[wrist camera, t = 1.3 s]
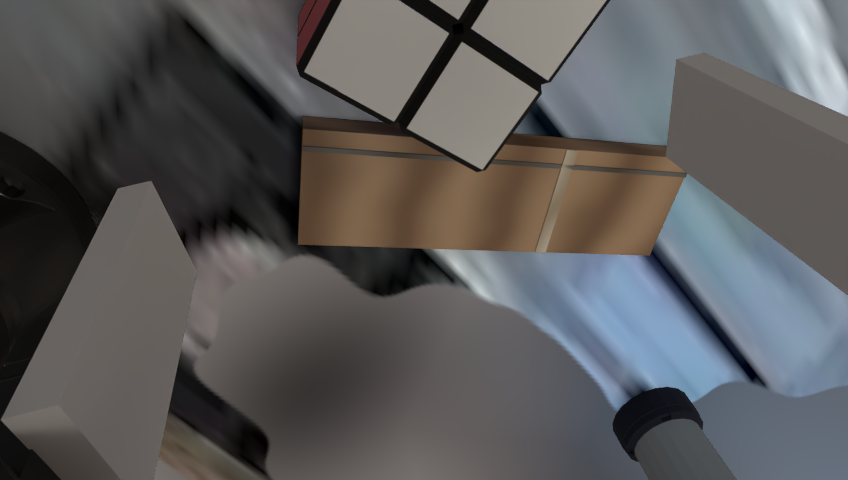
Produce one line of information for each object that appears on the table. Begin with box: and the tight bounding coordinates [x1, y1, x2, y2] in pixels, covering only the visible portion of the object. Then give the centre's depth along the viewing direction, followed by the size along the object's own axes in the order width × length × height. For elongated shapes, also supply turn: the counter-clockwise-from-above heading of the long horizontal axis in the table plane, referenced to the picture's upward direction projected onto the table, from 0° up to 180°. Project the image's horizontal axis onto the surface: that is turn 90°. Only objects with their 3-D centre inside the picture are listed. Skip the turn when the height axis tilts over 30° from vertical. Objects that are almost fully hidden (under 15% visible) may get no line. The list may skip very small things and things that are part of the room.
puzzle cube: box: [296, 0, 610, 172], centre depth 27 cm, size 10×10×10 cm
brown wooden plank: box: [298, 116, 687, 255], centre depth 38 cm, size 26×8×2 cm, turn 82°
